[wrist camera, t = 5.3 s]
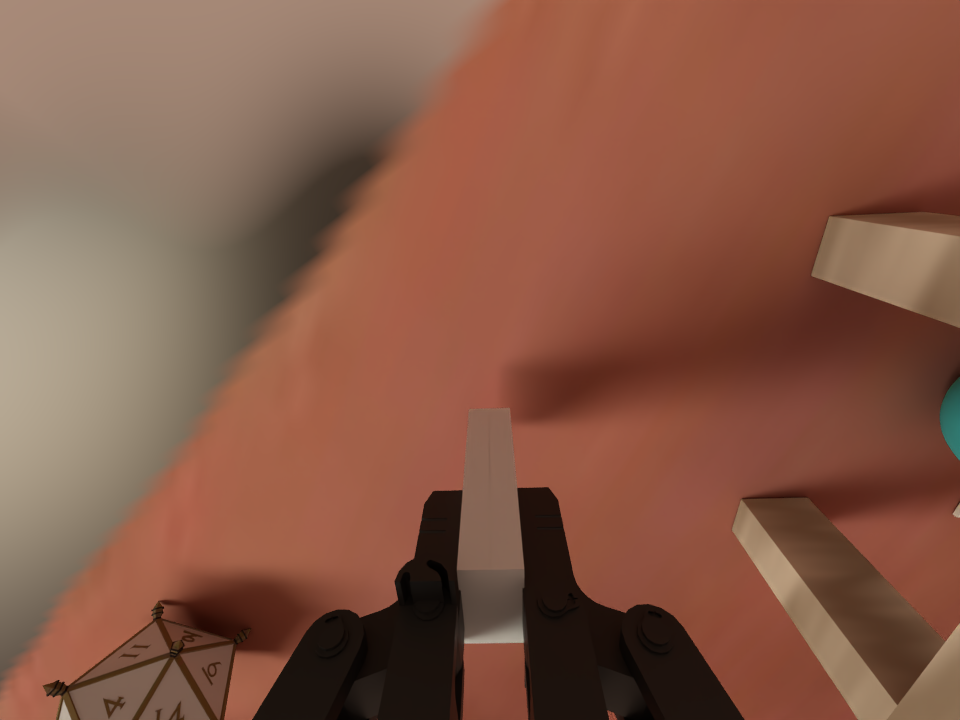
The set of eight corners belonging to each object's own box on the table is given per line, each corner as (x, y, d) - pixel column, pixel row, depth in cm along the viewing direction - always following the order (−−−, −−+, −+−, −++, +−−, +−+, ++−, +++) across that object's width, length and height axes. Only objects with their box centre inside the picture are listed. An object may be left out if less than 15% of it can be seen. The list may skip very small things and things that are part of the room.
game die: (229, 551, 27) (152, 626, 17) (295, 663, 27) (255, 800, 17) (76, 645, 24) (-118, 797, 14) (149, 769, 24) (6, 1001, 14)
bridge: (922, 211, 13) (1633, 291, 5) (794, 528, 20) (1018, 793, 11) (829, 216, 13) (1373, 301, 5) (731, 529, 20) (907, 793, 12)
